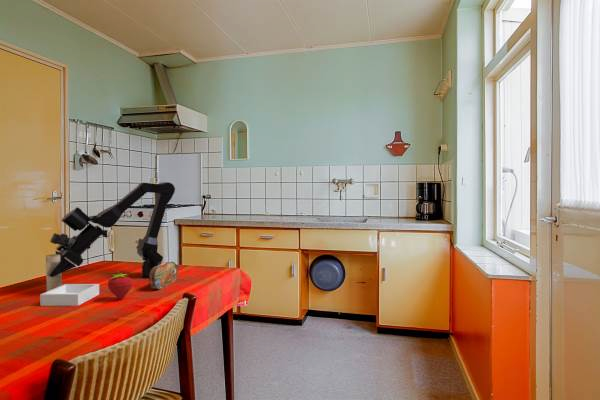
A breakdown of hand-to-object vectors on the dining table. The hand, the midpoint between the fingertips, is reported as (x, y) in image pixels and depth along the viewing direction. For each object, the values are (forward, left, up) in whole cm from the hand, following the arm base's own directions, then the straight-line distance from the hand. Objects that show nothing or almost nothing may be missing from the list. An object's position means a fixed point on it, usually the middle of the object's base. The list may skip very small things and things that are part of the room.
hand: (49, 274), depth 121 cm
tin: (-36, -9, -7) cm, 38 cm away
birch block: (-1, -1, -7) cm, 7 cm away
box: (-12, +7, -7) cm, 15 cm away
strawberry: (-28, +7, -7) cm, 30 cm away
